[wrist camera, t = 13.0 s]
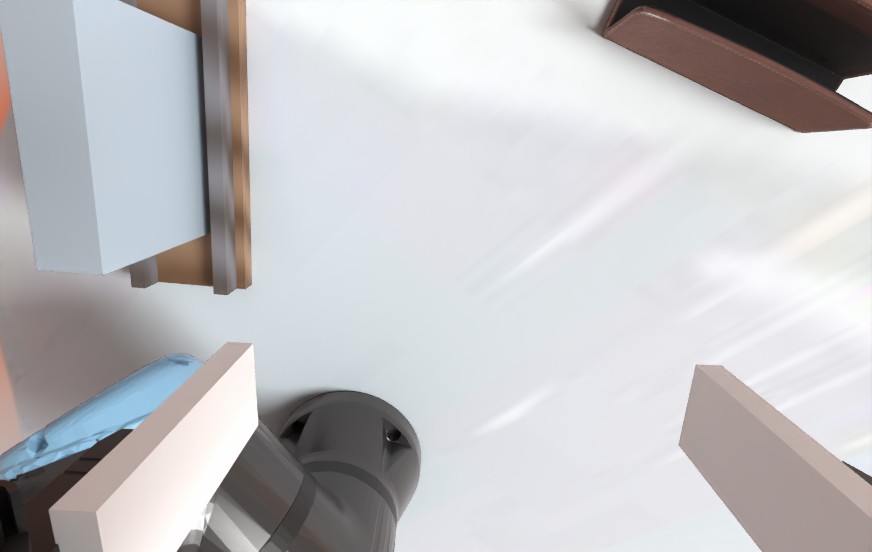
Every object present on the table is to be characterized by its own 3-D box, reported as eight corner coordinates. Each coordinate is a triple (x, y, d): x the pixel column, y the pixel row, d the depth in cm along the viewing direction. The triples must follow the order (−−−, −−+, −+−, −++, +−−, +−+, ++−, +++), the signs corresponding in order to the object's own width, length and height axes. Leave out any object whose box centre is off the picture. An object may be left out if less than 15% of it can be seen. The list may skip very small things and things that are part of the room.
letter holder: (659, -94, 37) (786, -231, 23) (872, 17, 39) (1105, -50, 25) (598, 37, 39) (680, -18, 26) (800, 135, 41) (976, 131, 28)
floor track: (251, 284, 45) (236, 295, 42) (146, 275, 45) (122, 286, 42) (244, -24, 38) (226, -41, 35) (120, -36, 38) (88, -53, 35)
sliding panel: (210, 232, 42) (102, 275, 29) (165, 229, 42) (36, 269, 29) (201, 36, 38) (70, -22, 25) (151, 32, 38) (-8, -29, 24)
